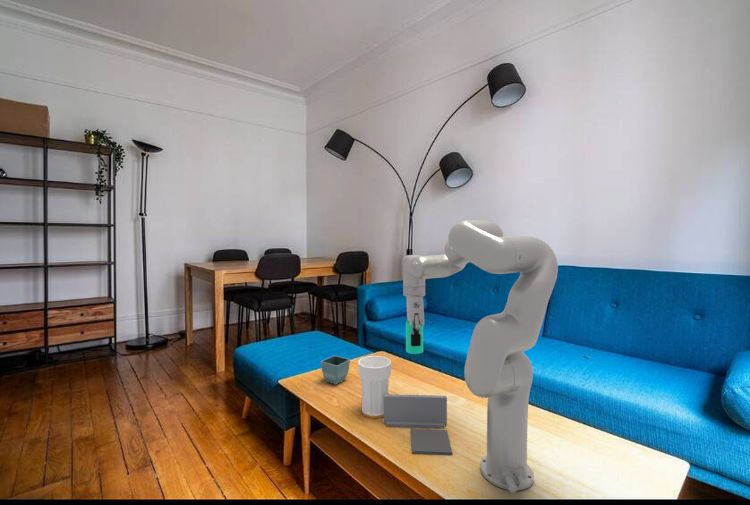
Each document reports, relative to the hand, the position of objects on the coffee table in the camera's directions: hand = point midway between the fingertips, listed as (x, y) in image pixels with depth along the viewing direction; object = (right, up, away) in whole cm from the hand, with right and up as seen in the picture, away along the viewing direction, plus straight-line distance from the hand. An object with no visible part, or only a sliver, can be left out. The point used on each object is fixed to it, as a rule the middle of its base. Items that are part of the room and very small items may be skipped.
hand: (414, 342), depth 121 cm
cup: (-14, -23, -1) cm, 27 cm away
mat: (+2, -24, -19) cm, 31 cm away
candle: (0, -3, 0) cm, 3 cm away
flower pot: (-30, -22, +23) cm, 44 cm away
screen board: (-1, -23, -9) cm, 25 cm away
